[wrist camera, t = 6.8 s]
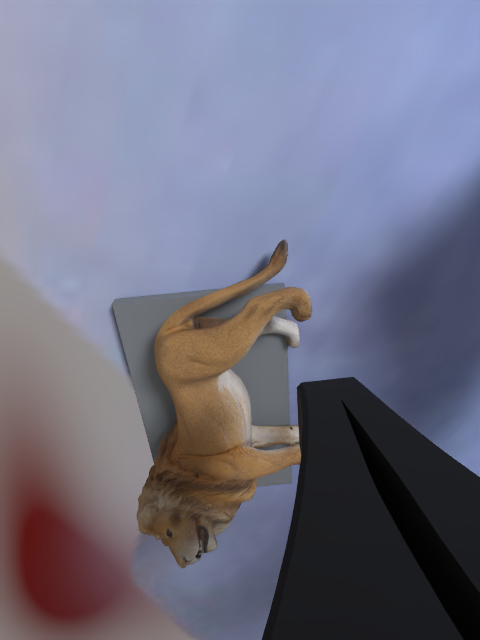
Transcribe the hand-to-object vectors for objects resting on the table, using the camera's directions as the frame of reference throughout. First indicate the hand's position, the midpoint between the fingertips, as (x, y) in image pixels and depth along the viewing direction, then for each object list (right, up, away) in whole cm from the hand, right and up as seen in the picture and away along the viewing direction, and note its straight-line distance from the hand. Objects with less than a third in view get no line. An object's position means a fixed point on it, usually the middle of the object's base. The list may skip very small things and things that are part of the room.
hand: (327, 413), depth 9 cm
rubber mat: (-3, -2, +11) cm, 12 cm away
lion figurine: (+1, -2, +8) cm, 9 cm away
